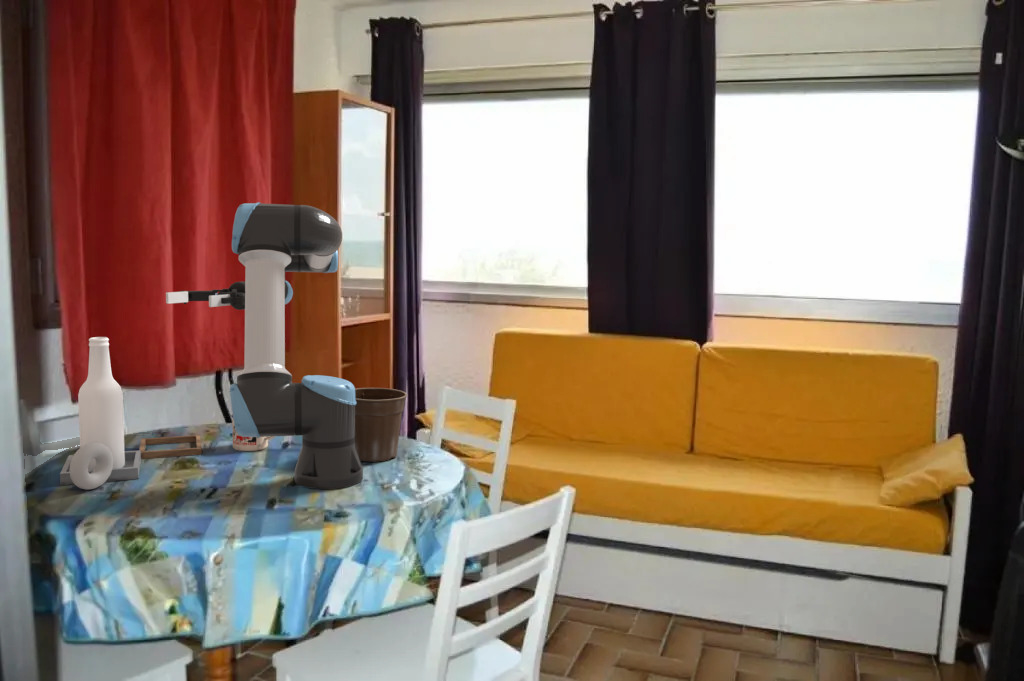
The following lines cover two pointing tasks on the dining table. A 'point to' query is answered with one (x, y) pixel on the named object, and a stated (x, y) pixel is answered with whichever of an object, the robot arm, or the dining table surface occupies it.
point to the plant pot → (378, 422)
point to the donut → (82, 461)
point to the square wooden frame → (170, 452)
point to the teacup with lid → (248, 441)
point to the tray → (125, 473)
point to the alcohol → (101, 405)
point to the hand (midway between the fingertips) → (188, 299)
